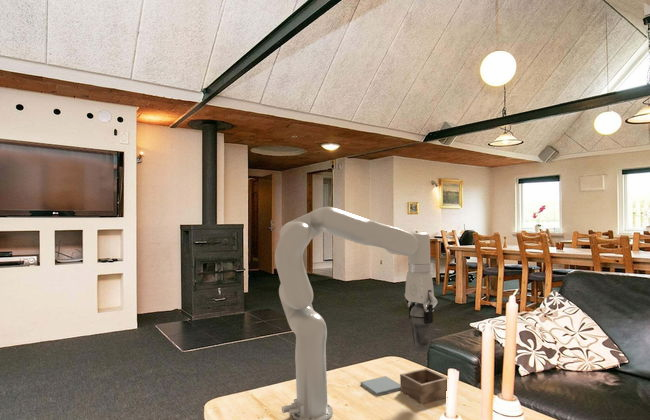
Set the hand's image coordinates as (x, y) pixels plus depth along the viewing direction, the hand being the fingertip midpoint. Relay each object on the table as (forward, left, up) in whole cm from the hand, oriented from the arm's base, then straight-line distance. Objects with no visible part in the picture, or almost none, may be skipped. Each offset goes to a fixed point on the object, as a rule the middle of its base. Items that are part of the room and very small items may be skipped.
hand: (420, 320), depth 139 cm
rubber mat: (-9, +12, -25) cm, 29 cm away
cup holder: (0, 0, -25) cm, 25 cm away
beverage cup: (0, 0, -10) cm, 10 cm away
